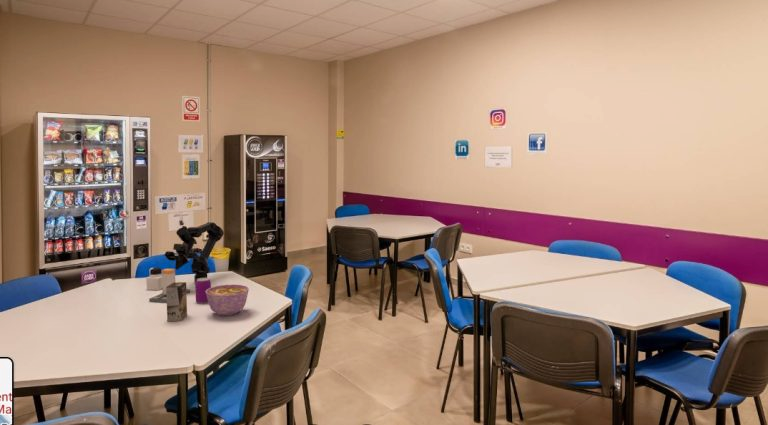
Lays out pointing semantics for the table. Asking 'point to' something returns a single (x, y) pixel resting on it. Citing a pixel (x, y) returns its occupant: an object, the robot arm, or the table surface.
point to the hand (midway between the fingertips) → (176, 269)
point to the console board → (162, 298)
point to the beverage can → (202, 289)
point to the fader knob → (167, 278)
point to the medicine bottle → (154, 279)
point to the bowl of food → (227, 298)
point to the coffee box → (176, 301)
